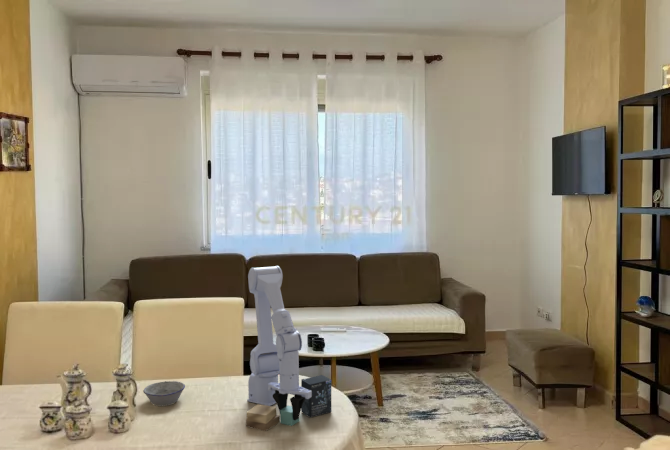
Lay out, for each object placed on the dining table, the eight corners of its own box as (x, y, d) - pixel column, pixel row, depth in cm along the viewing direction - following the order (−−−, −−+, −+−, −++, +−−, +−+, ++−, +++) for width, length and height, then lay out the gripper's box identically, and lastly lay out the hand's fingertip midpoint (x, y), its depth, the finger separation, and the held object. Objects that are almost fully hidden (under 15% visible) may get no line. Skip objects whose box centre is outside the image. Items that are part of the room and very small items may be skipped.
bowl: (177, 409, 181) (176, 394, 181) (137, 408, 182) (137, 394, 182) (190, 394, 194) (190, 380, 194) (153, 393, 195) (153, 379, 195)
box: (310, 418, 174) (309, 384, 173) (301, 412, 178) (300, 379, 178) (332, 412, 178) (331, 379, 177) (322, 406, 183) (322, 374, 182)
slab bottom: (246, 427, 169) (246, 419, 168) (261, 419, 175) (260, 411, 174) (265, 432, 165) (265, 424, 165) (279, 423, 171) (279, 415, 171)
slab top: (246, 420, 168) (246, 412, 167) (257, 412, 174) (257, 404, 173) (266, 423, 165) (266, 415, 165) (276, 415, 171) (276, 406, 171)
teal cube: (280, 423, 170) (280, 410, 170) (288, 418, 174) (288, 405, 174) (291, 426, 168) (291, 412, 168) (299, 421, 172) (299, 408, 172)
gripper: (261, 372, 170) (262, 417, 171) (301, 381, 163) (302, 427, 164) (275, 365, 176) (276, 409, 177) (315, 373, 169) (315, 418, 170)
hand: (289, 417), depth 171 cm, fingers closed on teal cube, 4 cm apart
